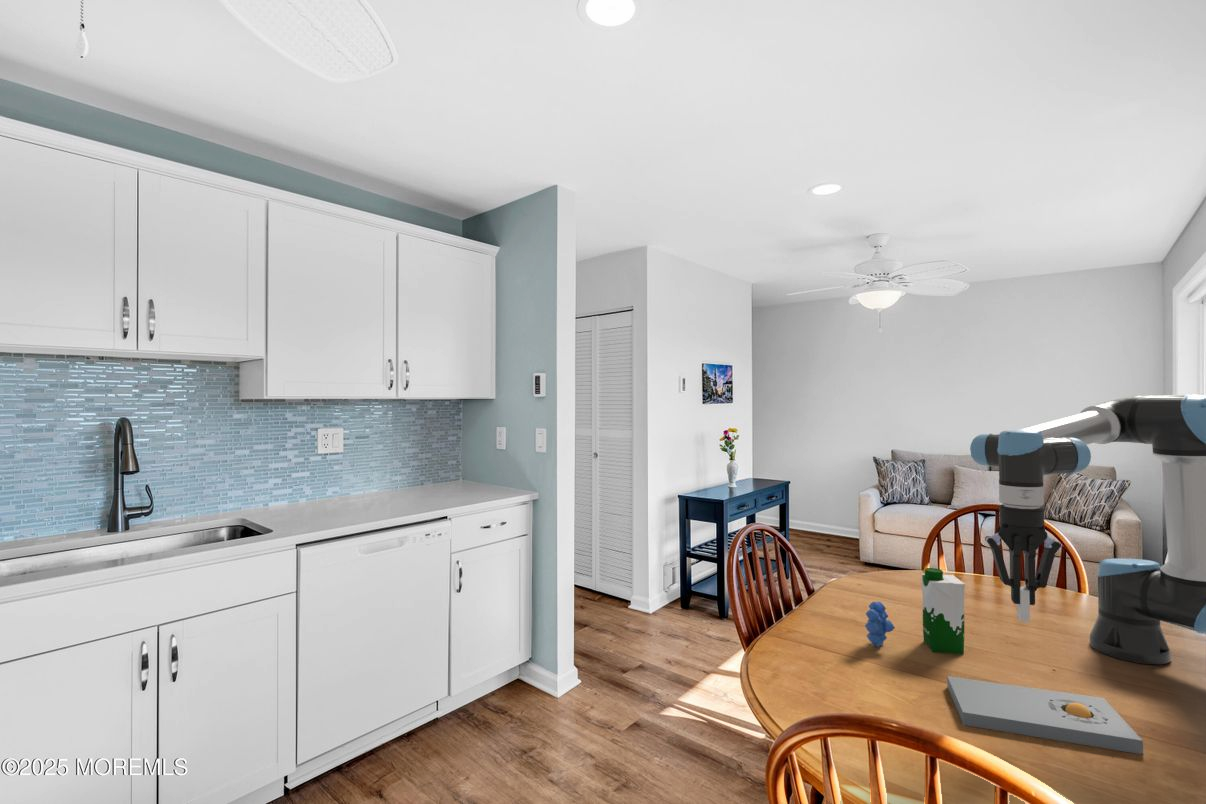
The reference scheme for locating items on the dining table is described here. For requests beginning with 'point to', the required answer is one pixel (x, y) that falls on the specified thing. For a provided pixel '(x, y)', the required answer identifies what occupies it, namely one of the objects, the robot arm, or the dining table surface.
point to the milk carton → (943, 612)
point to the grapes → (878, 624)
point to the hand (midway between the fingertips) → (1023, 619)
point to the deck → (1041, 714)
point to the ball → (1078, 710)
